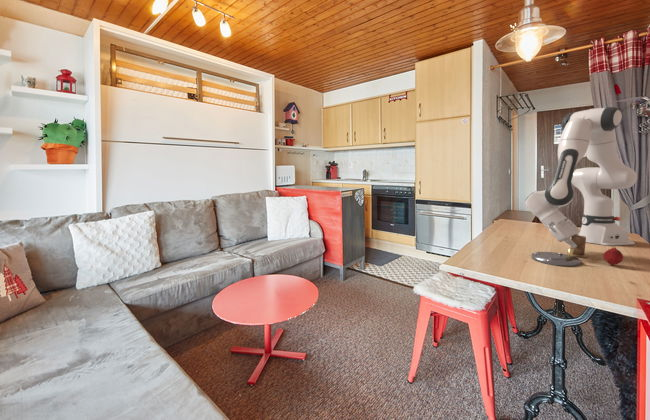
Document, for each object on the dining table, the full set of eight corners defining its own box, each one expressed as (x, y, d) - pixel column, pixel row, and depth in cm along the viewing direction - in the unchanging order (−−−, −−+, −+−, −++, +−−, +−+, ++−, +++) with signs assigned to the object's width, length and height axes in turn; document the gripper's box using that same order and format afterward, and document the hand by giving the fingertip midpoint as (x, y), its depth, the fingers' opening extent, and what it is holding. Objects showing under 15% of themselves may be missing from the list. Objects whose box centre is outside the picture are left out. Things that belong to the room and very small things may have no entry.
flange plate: (563, 254, 137) (565, 241, 136) (590, 266, 120) (592, 252, 120) (523, 253, 140) (524, 241, 139) (544, 266, 123) (545, 251, 122)
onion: (625, 268, 118) (628, 248, 117) (609, 267, 119) (611, 248, 118) (614, 263, 124) (617, 244, 122) (598, 262, 125) (601, 244, 124)
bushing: (580, 253, 138) (582, 234, 136) (591, 258, 131) (593, 238, 130) (563, 253, 139) (565, 234, 138) (573, 257, 132) (575, 238, 131)
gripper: (553, 220, 132) (579, 245, 126) (568, 214, 144) (592, 237, 138) (540, 228, 136) (565, 253, 130) (556, 222, 148) (579, 245, 142)
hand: (579, 245), depth 134 cm, fingers open, 8 cm apart
